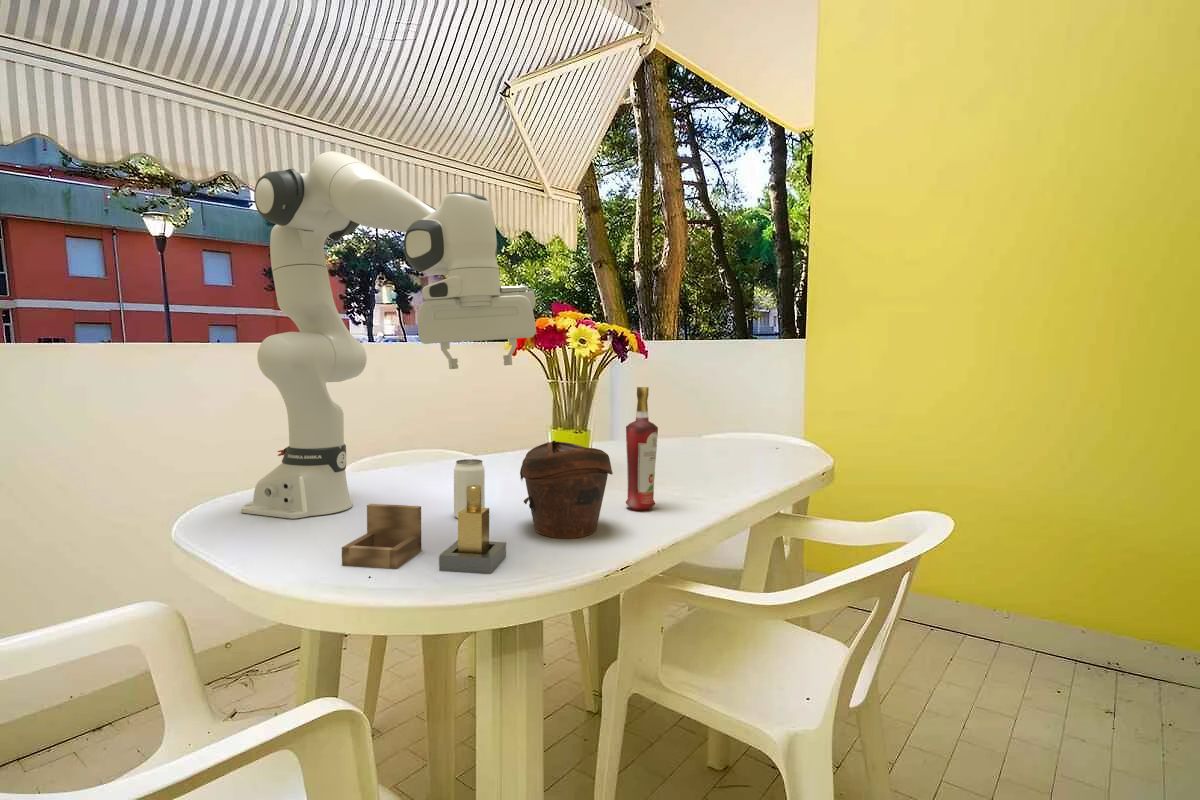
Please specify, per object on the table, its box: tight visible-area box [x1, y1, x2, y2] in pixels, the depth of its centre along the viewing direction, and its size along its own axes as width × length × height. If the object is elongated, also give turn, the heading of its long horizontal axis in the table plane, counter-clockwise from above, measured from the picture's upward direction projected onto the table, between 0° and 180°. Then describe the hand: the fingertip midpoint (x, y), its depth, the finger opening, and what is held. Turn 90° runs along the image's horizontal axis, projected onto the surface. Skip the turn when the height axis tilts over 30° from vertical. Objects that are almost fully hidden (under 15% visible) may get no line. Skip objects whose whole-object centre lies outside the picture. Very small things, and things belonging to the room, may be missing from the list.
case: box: [519, 440, 614, 539], centre depth 124 cm, size 18×20×18 cm
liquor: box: [625, 386, 659, 512], centre depth 142 cm, size 7×7×28 cm
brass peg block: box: [457, 485, 490, 555], centre depth 103 cm, size 4×4×13 cm
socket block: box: [438, 539, 507, 575], centre depth 103 cm, size 9×9×2 cm
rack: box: [341, 503, 422, 570], centre depth 105 cm, size 10×10×8 cm
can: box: [453, 458, 486, 520], centre depth 133 cm, size 6×6×12 cm
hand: (481, 367), depth 109 cm, fingers open, 8 cm apart
